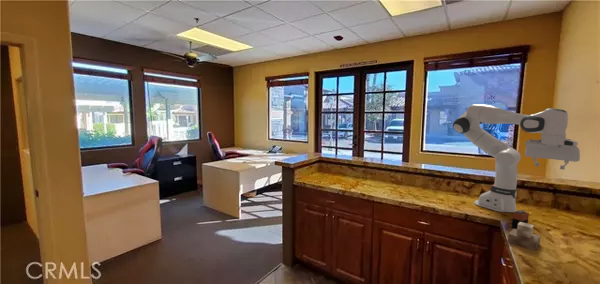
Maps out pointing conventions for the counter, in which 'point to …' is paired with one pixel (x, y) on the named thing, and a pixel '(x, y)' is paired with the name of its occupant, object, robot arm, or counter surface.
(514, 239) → the walnut block
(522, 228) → the maple cube
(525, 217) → the battery
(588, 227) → the counter surface
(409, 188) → the counter surface
